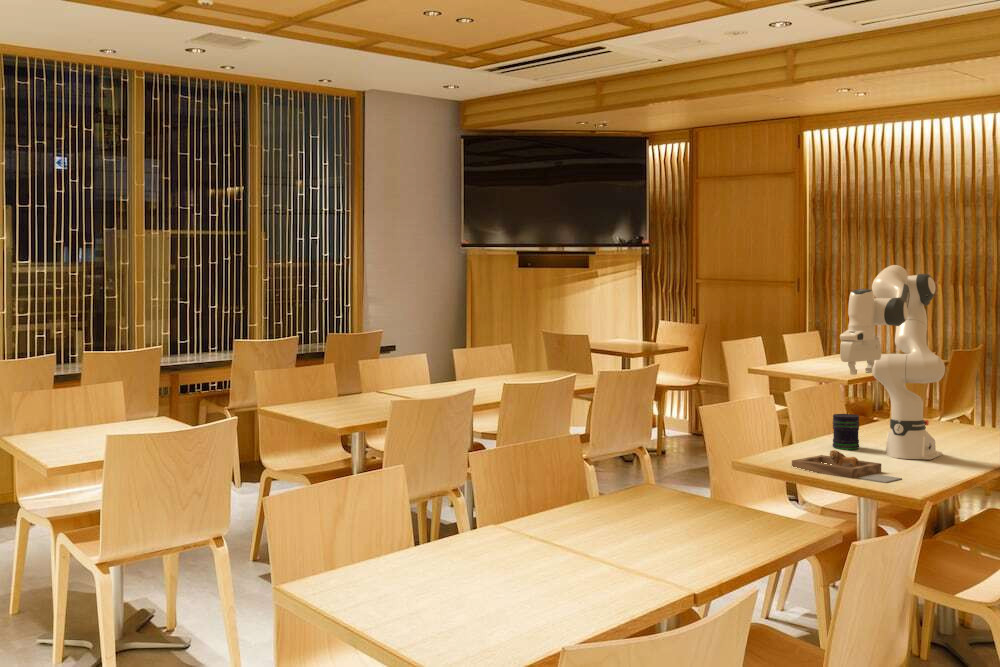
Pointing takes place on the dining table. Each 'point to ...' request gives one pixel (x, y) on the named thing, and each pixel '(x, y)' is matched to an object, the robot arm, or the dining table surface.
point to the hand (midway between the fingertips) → (861, 373)
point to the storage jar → (846, 431)
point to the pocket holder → (836, 467)
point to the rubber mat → (880, 478)
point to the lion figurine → (843, 459)
